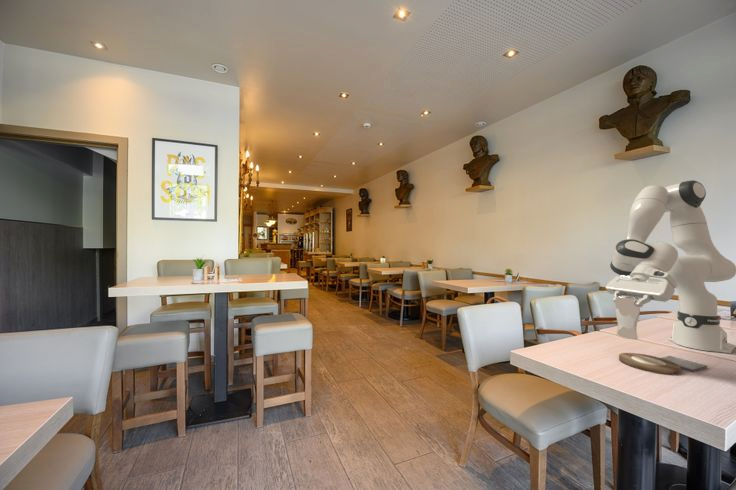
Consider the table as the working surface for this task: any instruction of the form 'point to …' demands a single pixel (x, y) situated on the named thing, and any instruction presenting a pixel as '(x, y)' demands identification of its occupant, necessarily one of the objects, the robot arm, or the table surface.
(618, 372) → the table surface
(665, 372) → the round walnut board
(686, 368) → the square charcoal tile
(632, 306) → the beer glass
